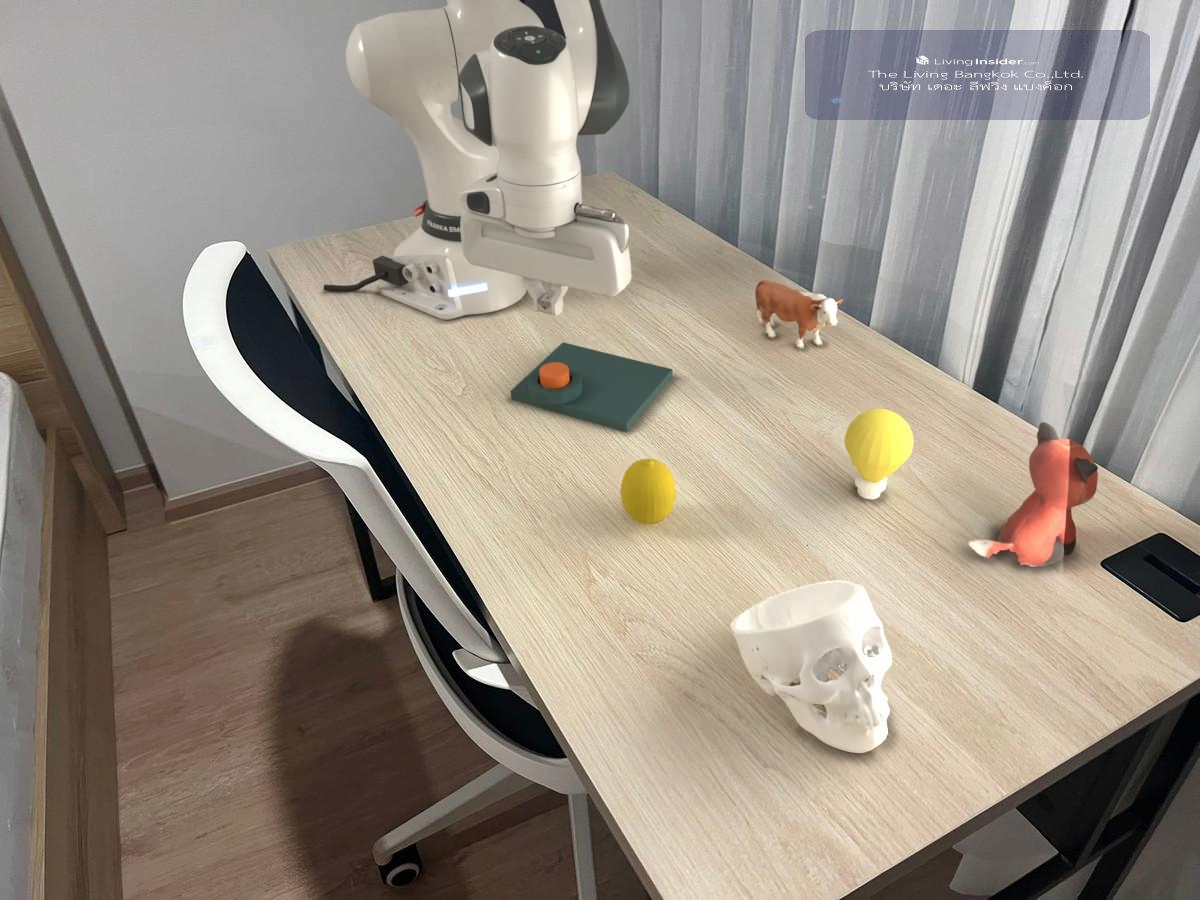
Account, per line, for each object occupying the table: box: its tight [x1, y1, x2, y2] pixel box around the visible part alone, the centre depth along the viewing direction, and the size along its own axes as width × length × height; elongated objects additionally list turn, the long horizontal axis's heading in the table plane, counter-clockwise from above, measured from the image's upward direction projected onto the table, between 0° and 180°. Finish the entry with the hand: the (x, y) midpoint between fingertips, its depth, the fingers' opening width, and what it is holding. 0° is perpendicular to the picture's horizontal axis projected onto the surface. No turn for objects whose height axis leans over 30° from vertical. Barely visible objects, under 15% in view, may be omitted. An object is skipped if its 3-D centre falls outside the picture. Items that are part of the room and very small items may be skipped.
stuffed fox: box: [967, 421, 1099, 568], centre depth 84 cm, size 8×11×12 cm
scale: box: [510, 342, 673, 433], centre depth 112 cm, size 16×14×3 cm
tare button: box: [539, 362, 570, 389], centre depth 109 cm, size 4×4×2 cm
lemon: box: [620, 458, 677, 525], centre depth 90 cm, size 6×6×8 cm
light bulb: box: [844, 408, 914, 500], centre depth 92 cm, size 7×7×10 cm
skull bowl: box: [730, 579, 893, 754], centre depth 74 cm, size 10×14×12 cm
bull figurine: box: [754, 279, 844, 350], centre depth 118 cm, size 4×13×8 cm, turn 41°
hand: (548, 311), depth 104 cm, fingers closed
